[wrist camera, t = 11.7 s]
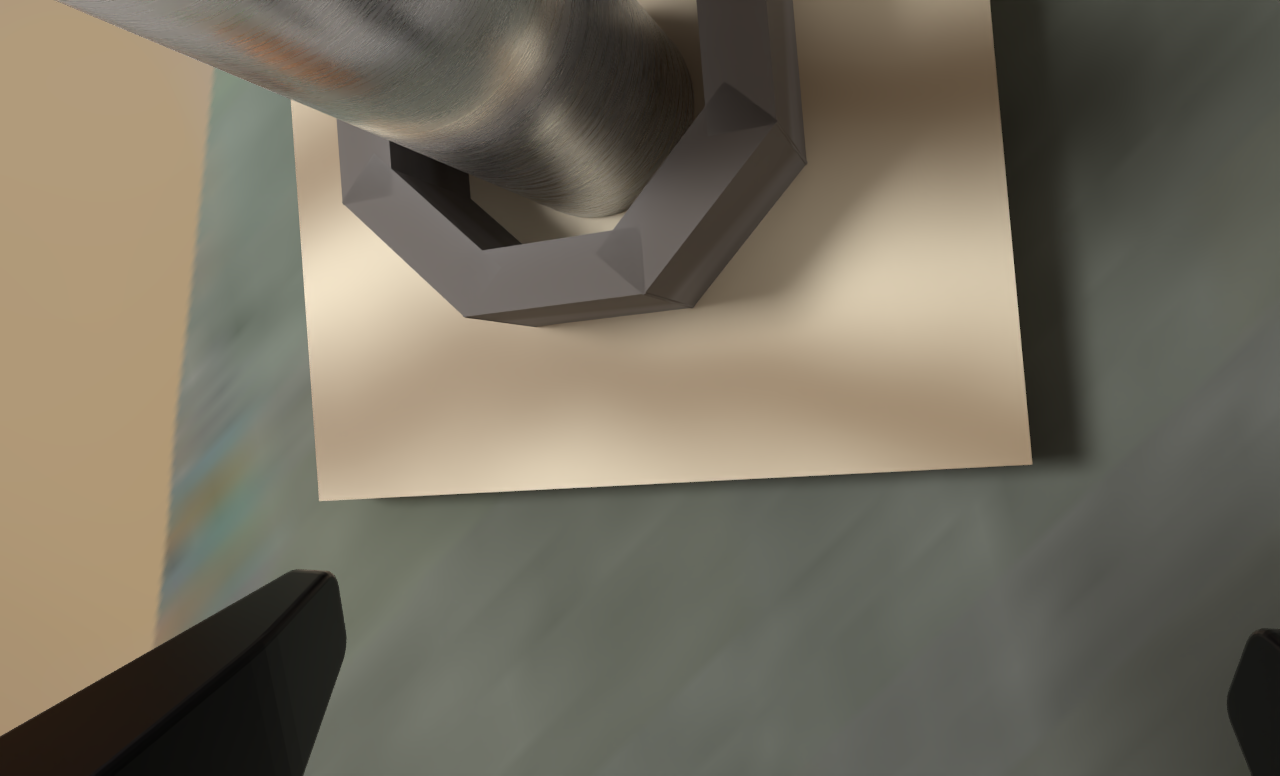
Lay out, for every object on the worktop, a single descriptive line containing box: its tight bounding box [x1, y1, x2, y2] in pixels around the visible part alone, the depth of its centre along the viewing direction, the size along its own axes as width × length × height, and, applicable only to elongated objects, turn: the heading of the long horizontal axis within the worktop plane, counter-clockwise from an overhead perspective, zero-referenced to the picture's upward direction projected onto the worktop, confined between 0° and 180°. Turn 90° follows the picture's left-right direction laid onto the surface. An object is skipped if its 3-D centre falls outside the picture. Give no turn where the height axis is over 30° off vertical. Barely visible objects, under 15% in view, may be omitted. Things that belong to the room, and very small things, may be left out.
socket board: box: [291, 0, 1032, 501], centre depth 19 cm, size 16×16×4 cm
